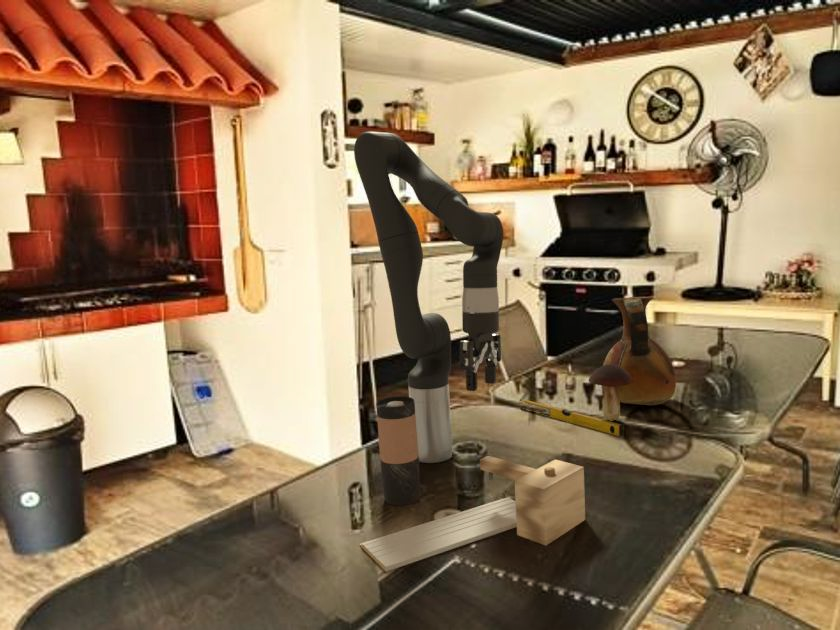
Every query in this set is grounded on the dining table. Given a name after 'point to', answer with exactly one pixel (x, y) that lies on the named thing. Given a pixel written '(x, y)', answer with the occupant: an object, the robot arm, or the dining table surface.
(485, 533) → the baseboard
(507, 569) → the dining table surface
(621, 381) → the decorative mushroom
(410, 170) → the robot arm
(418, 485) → the travel mug
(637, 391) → the ceramic pitcher
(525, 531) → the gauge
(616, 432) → the spirit level
